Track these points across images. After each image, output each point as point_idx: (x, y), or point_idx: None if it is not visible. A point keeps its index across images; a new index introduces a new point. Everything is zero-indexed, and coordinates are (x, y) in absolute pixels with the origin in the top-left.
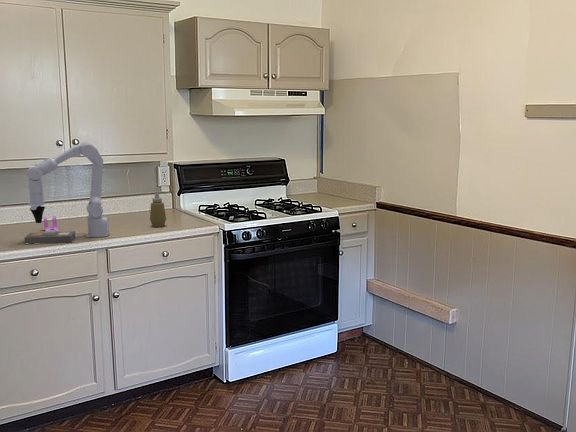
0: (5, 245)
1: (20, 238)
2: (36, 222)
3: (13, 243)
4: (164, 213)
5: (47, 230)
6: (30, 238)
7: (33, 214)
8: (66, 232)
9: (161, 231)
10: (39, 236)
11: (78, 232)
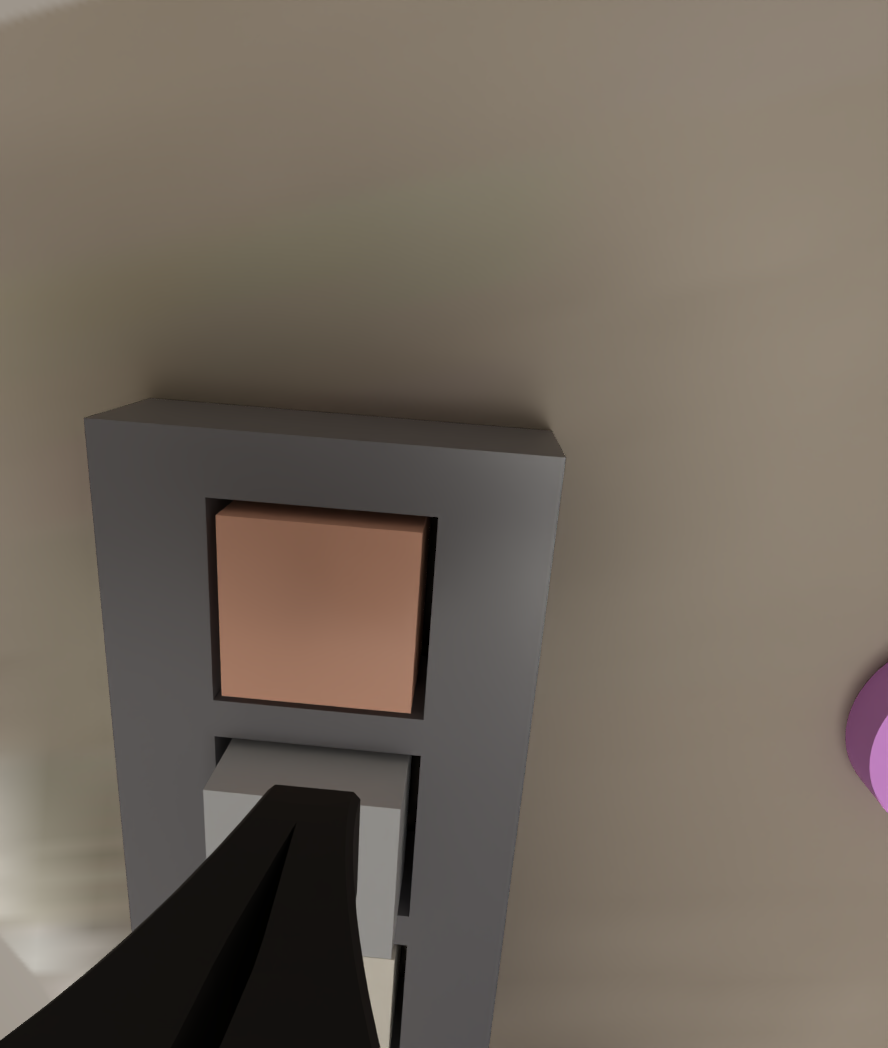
0: (93, 18)
1: (699, 204)
2: (262, 806)
3: (253, 156)
4: None
5: (389, 831)
6: (104, 529)
7: (19, 1036)
8: (388, 1036)
9: None
10: (174, 681)
11: (830, 1037)
